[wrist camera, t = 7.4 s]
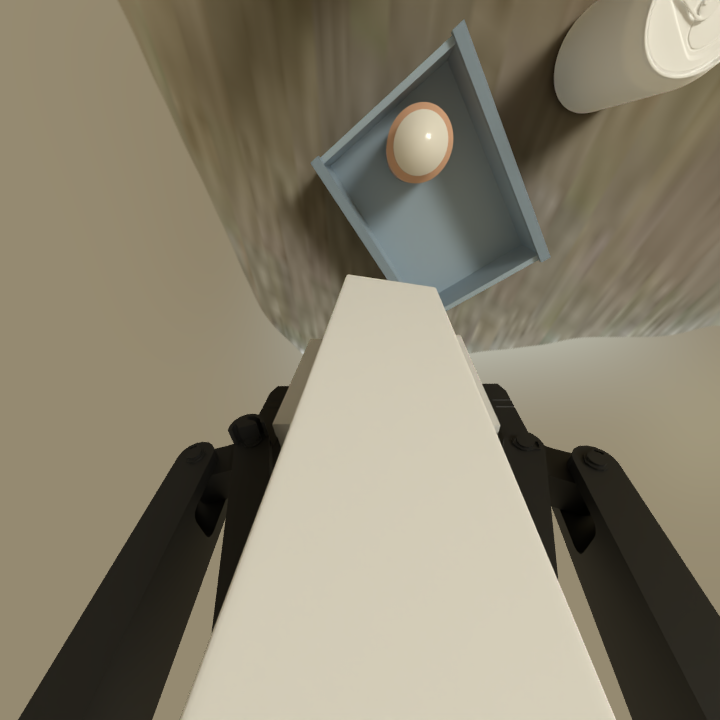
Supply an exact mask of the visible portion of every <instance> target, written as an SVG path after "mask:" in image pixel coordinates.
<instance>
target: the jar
mask: <svg viewBox="0 0 720 720" xmlns="http://www.w3.org/2000/svg"><path fill="white" fill-rule="evenodd" d="M452 147H453V129H452V125H451V122H450V120H449V118H448V116H447V115H446V113H445V112H444V111H443V110H442V109H441V108H440V107H439V106H437V105H435V104H433V103H429V102H418V103H415V104H412V105H410V106H408V107H407V108H405V109H404V110H403V111H402V112H401V113H400V114H399V115H398V116H397V117H396V119H395V120H394V122H393V124H392V126H391V128H390V131H389V134H388V139H387V145H386V161H387V165H388V167H389V170H390V171H391V173H392V174H393V175H394V176H395V177H396V178H397V179H398V180H400V181H402V182H405V183H423V182H426V181H429V180H431V179H432V178H434V177H435V176H437V175H438V174H439V173H440V172H441V171H442V169H443V168H444V167H445V165H446V164H447V162H448V160H449V158H450V155H451V152H452Z"/></svg>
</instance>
